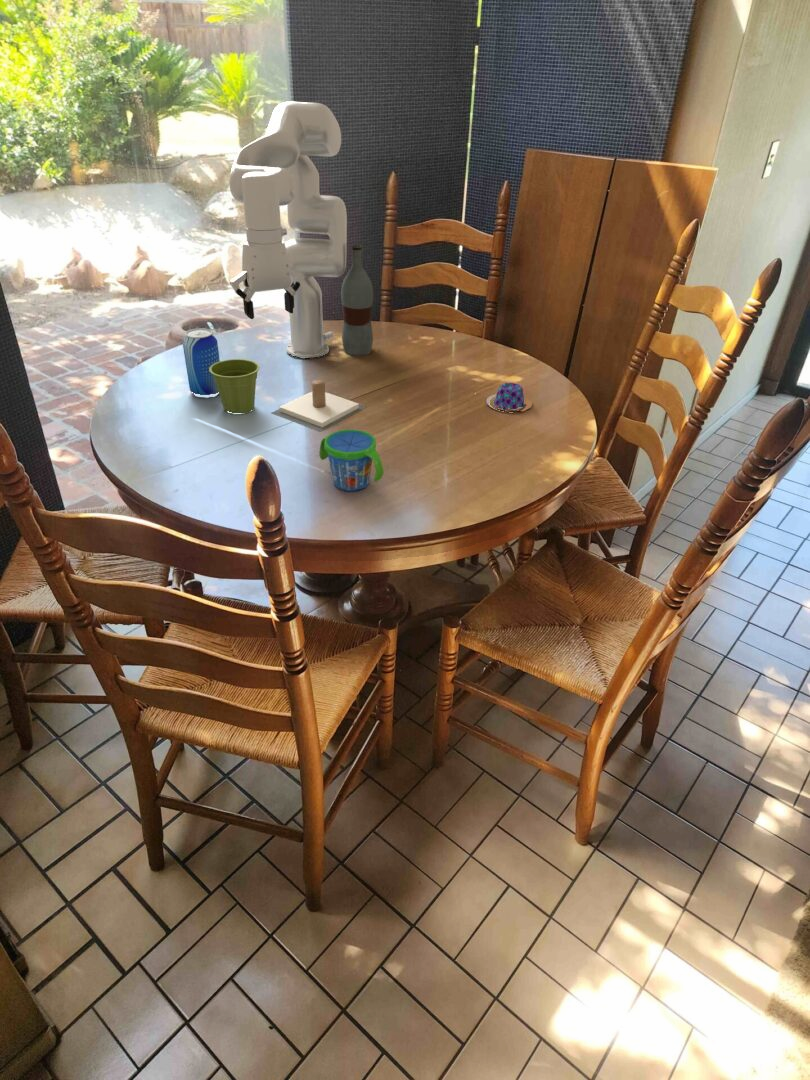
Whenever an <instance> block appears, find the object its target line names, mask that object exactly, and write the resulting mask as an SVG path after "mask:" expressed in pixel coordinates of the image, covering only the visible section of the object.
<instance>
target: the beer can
mask: <svg viewBox="0 0 810 1080" xmlns="http://www.w3.org/2000/svg"><path fill="white" fill-rule="evenodd" d="M218 344H219V343H218V340H217V338H216V337H215V335H214V334H213V331H212V330H211V329H210V328H203V327H202V328H201V327H200V328H192V329H188V330H187V331H185V333H184V338H183V340H182V347H183V354H184V362H185V368H186V374H187V379H188V387H189V391H190V392H191V393H192V392H193V393H195V394H200V395H210V394H216V393H218V392H219V391H218V387H217V384H216V382H215V380H214V377H213V374H212V373H211V372H210V371H209V368H210V366H211V365H213V364H214V363H217V362H219V361H221V360H220V351H219V345H218ZM193 393H192V394H193Z"/></svg>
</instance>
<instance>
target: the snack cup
mask: <svg viewBox="0 0 810 1080" xmlns="http://www.w3.org/2000/svg"><path fill="white" fill-rule="evenodd" d="M318 452H319V459H321V460H322V461H324V460H326V459H328V463H329V468H330V473H331V478H332V482H333V485H334V486H335V487H337V488H338V489H339V490H344V491H346V492H353V491H359V490H362V489H365V488H366V487H367V486H368V484H369V482H370V478H371V471H372V465H374V468H375V472H374V476H373V482H379V481H380V480H381V479H382V478H383V475H384V467H383V463H382V458H381V456H380V454H379V452H378V451H377V440H376V437H375V436H374V435H372V434H371V433H369V432H367V431H364V430H359V429H342V430H338V431H334V432H332V433H330V434H329V435H327V436H325V437H323V438H322V439H321V441H320V446H319V451H318Z"/></svg>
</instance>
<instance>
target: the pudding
mask: <svg viewBox="0 0 810 1080" xmlns="http://www.w3.org/2000/svg"><path fill="white" fill-rule="evenodd" d="M495 396H496V397H495ZM493 397H495V400H494V401H493V403H494V402H495V404H494V406H495V405H496V406H499V407H501V408H503V409H508V408H510V409H517V408H518V407H523V406H524V397H525V396H524V389H523V387H522V385H520V384H519V383H514V382H504V383H503V384H501V385H499V387H498V390H497V392H496V393H495V394H491V395H490V396H488V397H487V399H486V404H487V405H488V406H489V407H490V408H492V409H493V410H497V409H495V408H493V407H492V406H491V405H490V400H491V399H492V398H493ZM496 406H495V407H496ZM524 407H525V406H524ZM501 408H500V409H501ZM497 411H499V412H501V411H500V410H497ZM502 412H504V411H502ZM504 413H505V412H504ZM510 413H513V412H510ZM513 414H514V413H513Z"/></svg>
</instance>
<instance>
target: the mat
mask: <svg viewBox="0 0 810 1080" xmlns="http://www.w3.org/2000/svg"><path fill="white" fill-rule="evenodd" d="M358 404H359V408H358V409H356V410H354V411H352V412H351V413H349V414H347V415H345V416H343V417H341V418H339V419H337V420H335V421H334V422H332V423H330V424H328V425H326V426H324V427H320V426H317V425H314V424H312V423H309V422H306V421H304V420H301V419H299V418H296V417H293V416H291V415H288V414H285V413H283V412H280V411H279V408H278V409H276V410H274V411H272V412H271V415H272V414H273V415H275V416H278V417H280V418H283V419H285V420H287V421H290V422H294V423H296V424H298V425H301V426H303V427H306V428H309V429H311V430H315V431H316V432H323V431H324V430H325V429H328V428H330V427H332V426H333V425H335V424H337V423H339V422H341V421H343V420H344V419H346V418H347V419H348V417H350V416H352V415H354V414H356V413H358V412H359V411H362V410H364V409H366V408H367V407H368V406H366V405H363V404H360V403H358Z"/></svg>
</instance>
